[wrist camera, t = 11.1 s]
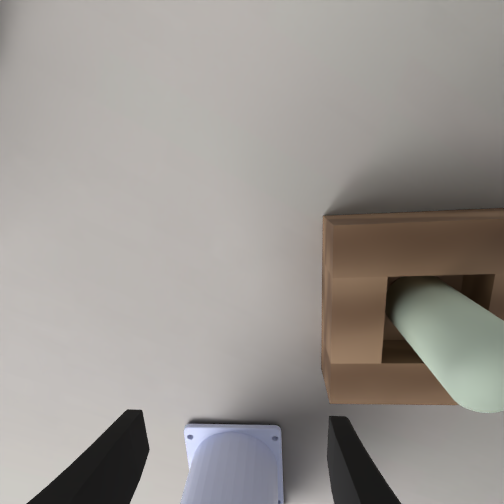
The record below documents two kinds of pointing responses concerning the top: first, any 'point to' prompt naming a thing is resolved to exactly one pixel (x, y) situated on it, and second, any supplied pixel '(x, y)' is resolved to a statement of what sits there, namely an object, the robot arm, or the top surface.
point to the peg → (451, 339)
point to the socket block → (375, 288)
